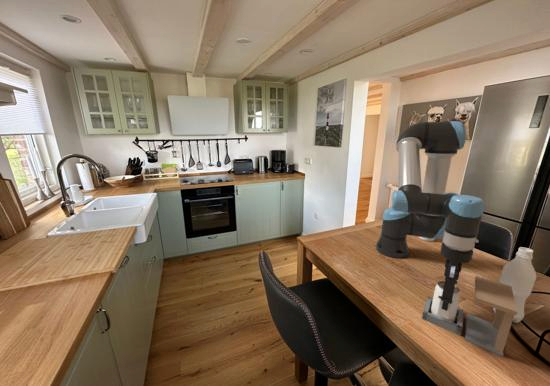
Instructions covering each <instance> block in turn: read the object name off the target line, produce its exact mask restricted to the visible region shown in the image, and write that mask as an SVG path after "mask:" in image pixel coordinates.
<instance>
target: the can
mask: <svg viewBox="0 0 550 386" xmlns="http://www.w3.org/2000/svg"><path fill="white" fill-rule="evenodd" d="M444 283H445V280H441V281H438V282H437V284H436V285H435V287H434V292H433V297H432V298H433V302H432V306H430V313H431V314H434V315H436V316H439V315H437V314H438V309H439V304H440V298H438V297H439V296H442V293H443V288H444ZM460 298H461V292H460V288H459V287H458V286H457V284H455V289H454V293H453V298H452V304H451V308H450V312H449V317H448V319H446V318H444V317H441V316H439V317H441V318H443V319H446V320H448V321H450V322H453V323H455V320H456V318H457V316H456V313H457V308H459V304H460V300H461V299H460Z"/></svg>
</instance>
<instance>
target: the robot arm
mask: <svg viewBox="0 0 550 386" xmlns="http://www.w3.org/2000/svg"><path fill="white" fill-rule="evenodd" d="M466 135H467V132H466V127H465V124H464V123H463V122H461V121H457V120H456V121H455V120H447V121H446V120H445V121H443V120H442V121H420V122H416V123H413V124H411V125H409V126H407V127H406V128H405V129H404V130H403V131H402V132H401V133H400V134H399V136H398V138H397V140H396V144H395V145H396V146H395V147H396V151H397V153H398V173H397V176H398V178H397V179H398V180H397V181H398V182H397V184H398V186H397V190H393V192H392V196H391V207H388V208H386V209H385V210H384V211H383V216H382V222H381V223H382V225H381V232H380V233H381V234H380V236H379V238H378V240H377V242H376V245H375V249H376V251H378V253H379V254H381V255H384V256H385V257H386V256H387V257H391V258H394V259H396V258H397V259H402V258H406V257H408V256H409V250H410V249H409V246H408V242H407V238H408V236H413V237H418V238H419V237H424V238H429V239H435V240H440V239H442V243H441V247H440V255H441V256H442V257H443V258H445V264H444V268H445V270H444V274H443V275H444V276H443V277H444V281H445V283H444V288H443V293H442V296H439V297H438V298H440V304H439V309H438V314H437V315H439V316H441V317H444V318H446V319H448V317H449V312H450V308H451V304H452V298H453V293H454V289H455V285H457V284H458V280H459V278H460V273H461V272H462V265H463V264H467V263H471V262H472V260H473V255H474V249H475V245H476V244H475V243H479V239H477V237H478V233H479V229H480V225H481V221H482V218H483V214H484V207H485V201H484V199H482V198H481V197H478V196H474V195H467V194H458V193H456V192H453V191H451V192H450V191H449V192H446V189H447V183H448V177H449V173H450V167H451V164H452V158H453V157H454V156H456V155H457V154H458V150H459V151H460V150H462V149H464V147H465V144H466V139H467V138H466ZM422 149H423V150H424V154H425V155H426V156H427V161H426V167H425V172H424V180H423V184H422V173H421V172H422V171H421V170H422V169H421V155H420V150H422Z"/></svg>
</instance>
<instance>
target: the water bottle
mask: <svg viewBox="0 0 550 386" xmlns="http://www.w3.org/2000/svg"><path fill="white" fill-rule="evenodd" d="M533 254H534V250H533V249H531V248H530V247H529V248H528V247H522V246H520V247H519V248H518V251H516V253H515V257H514V258H512V259H511V260H510V261H508V262H507V263H506V264H504V266H503V267H502V272H501V273H502V274H501V276H500V279H499V282H498V283H502V284H505V285H508V286H511V287H512V291H513V295H514V299H515V304H516V308H517V315H516V316H515V315H514V318H513V321H512V323H516V324H517V323H519V322H521V321H522V320H523V319H524V317H525V305H526V300H527V299H528V298H529V297H530V296H531V295H532V290H533V287H534V284H535V282H536V281H537V273H536V270H535V268H534V265H533V263H532V260H533V259H534V257H533ZM492 311H493V313H494V314H495V312H496V309H495V308H493V307H492Z"/></svg>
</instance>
